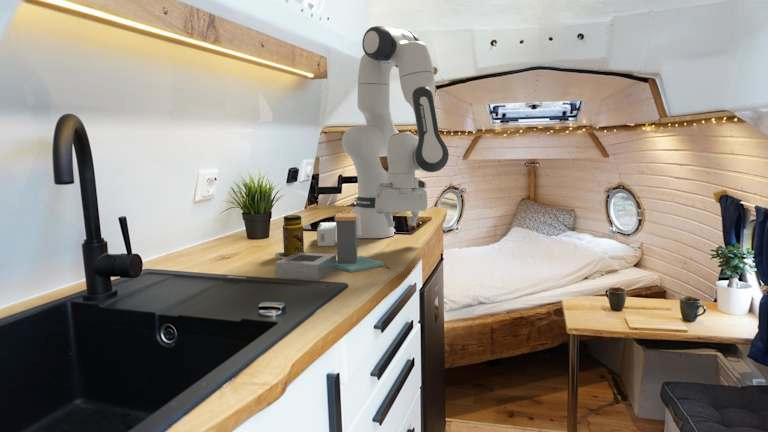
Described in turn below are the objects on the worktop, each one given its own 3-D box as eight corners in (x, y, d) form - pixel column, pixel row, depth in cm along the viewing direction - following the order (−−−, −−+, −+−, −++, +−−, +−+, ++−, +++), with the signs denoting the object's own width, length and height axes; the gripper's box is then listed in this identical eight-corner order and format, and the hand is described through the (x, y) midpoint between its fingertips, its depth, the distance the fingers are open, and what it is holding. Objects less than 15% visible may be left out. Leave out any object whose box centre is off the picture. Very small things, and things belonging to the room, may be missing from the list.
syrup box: (317, 246, 167) (320, 238, 181) (335, 246, 167) (337, 237, 181) (316, 229, 166) (319, 222, 180) (334, 228, 166) (336, 221, 180)
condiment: (307, 256, 153) (305, 216, 151) (278, 259, 150) (276, 218, 148) (302, 251, 160) (301, 213, 158) (275, 254, 157) (273, 215, 155)
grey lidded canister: (338, 259, 145) (337, 213, 143) (358, 258, 145) (357, 213, 143) (336, 264, 140) (334, 217, 138) (357, 263, 139) (356, 216, 137)
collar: (297, 266, 141) (297, 252, 140) (336, 268, 137) (336, 254, 137) (276, 277, 130) (275, 262, 129) (318, 280, 127) (317, 264, 126)
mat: (328, 264, 142) (328, 261, 142) (360, 258, 149) (360, 255, 149) (350, 272, 134) (350, 269, 134) (383, 265, 141) (383, 262, 140)
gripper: (383, 182, 154) (384, 228, 155) (430, 183, 168) (430, 225, 168) (370, 183, 159) (371, 227, 160) (416, 183, 173) (417, 224, 173)
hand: (402, 226), depth 164 cm, fingers open, 8 cm apart
